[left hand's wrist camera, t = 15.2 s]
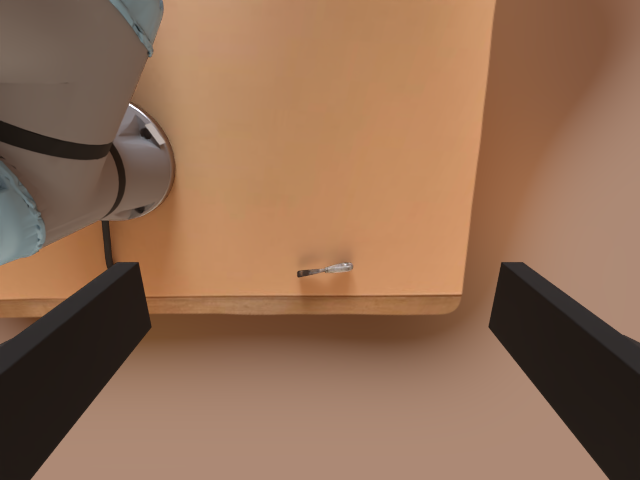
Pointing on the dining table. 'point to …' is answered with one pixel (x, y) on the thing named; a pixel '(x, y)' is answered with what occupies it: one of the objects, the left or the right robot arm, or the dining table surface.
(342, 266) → the putty knife
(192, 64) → the dining table surface
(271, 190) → the dining table surface
